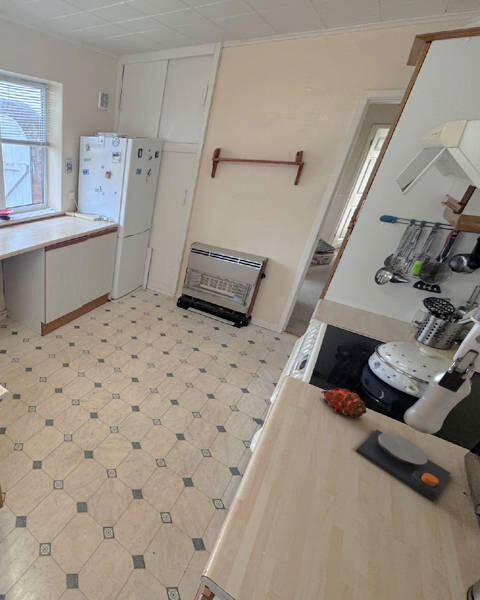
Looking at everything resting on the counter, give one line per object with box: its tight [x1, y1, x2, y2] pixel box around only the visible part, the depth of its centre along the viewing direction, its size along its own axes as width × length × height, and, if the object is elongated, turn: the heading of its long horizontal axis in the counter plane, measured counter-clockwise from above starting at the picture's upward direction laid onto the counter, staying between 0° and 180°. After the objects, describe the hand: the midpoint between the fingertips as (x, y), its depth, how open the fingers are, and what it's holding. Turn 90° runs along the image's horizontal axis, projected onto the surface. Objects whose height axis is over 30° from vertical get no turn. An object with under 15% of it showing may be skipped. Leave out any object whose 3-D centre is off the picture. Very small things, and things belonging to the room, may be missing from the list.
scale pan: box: [378, 432, 428, 466], centre depth 87 cm, size 10×10×1 cm
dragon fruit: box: [320, 387, 367, 419], centre depth 103 cm, size 8×8×12 cm
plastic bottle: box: [403, 361, 476, 435], centre depth 80 cm, size 6×7×20 cm
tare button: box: [421, 473, 439, 487], centre depth 79 cm, size 3×3×2 cm
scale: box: [355, 429, 452, 503], centre depth 86 cm, size 16×14×4 cm
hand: (451, 383), depth 77 cm, fingers closed on plastic bottle, 6 cm apart
